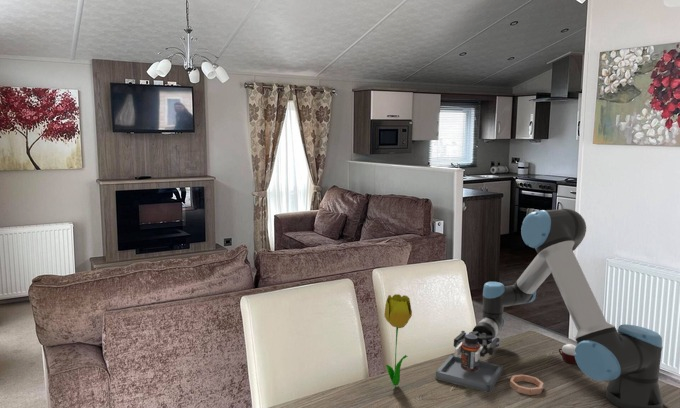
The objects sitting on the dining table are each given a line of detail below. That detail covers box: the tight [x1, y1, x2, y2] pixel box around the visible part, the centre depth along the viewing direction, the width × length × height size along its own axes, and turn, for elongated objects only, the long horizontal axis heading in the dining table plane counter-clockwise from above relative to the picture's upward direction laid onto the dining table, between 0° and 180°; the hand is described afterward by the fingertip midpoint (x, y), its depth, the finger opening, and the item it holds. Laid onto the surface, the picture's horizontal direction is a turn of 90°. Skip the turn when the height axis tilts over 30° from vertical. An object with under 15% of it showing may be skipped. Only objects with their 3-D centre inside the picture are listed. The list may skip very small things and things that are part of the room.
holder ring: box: [509, 374, 544, 396], centre depth 167 cm, size 10×10×2 cm
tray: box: [435, 353, 504, 394], centre depth 174 cm, size 18×16×2 cm
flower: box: [384, 293, 413, 388], centre depth 164 cm, size 9×8×30 cm
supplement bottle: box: [460, 334, 481, 372], centre depth 173 cm, size 6×6×11 cm
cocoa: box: [558, 343, 577, 365], centre depth 185 cm, size 10×6×12 cm, turn 13°
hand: (466, 355), depth 168 cm, fingers closed on supplement bottle, 6 cm apart
